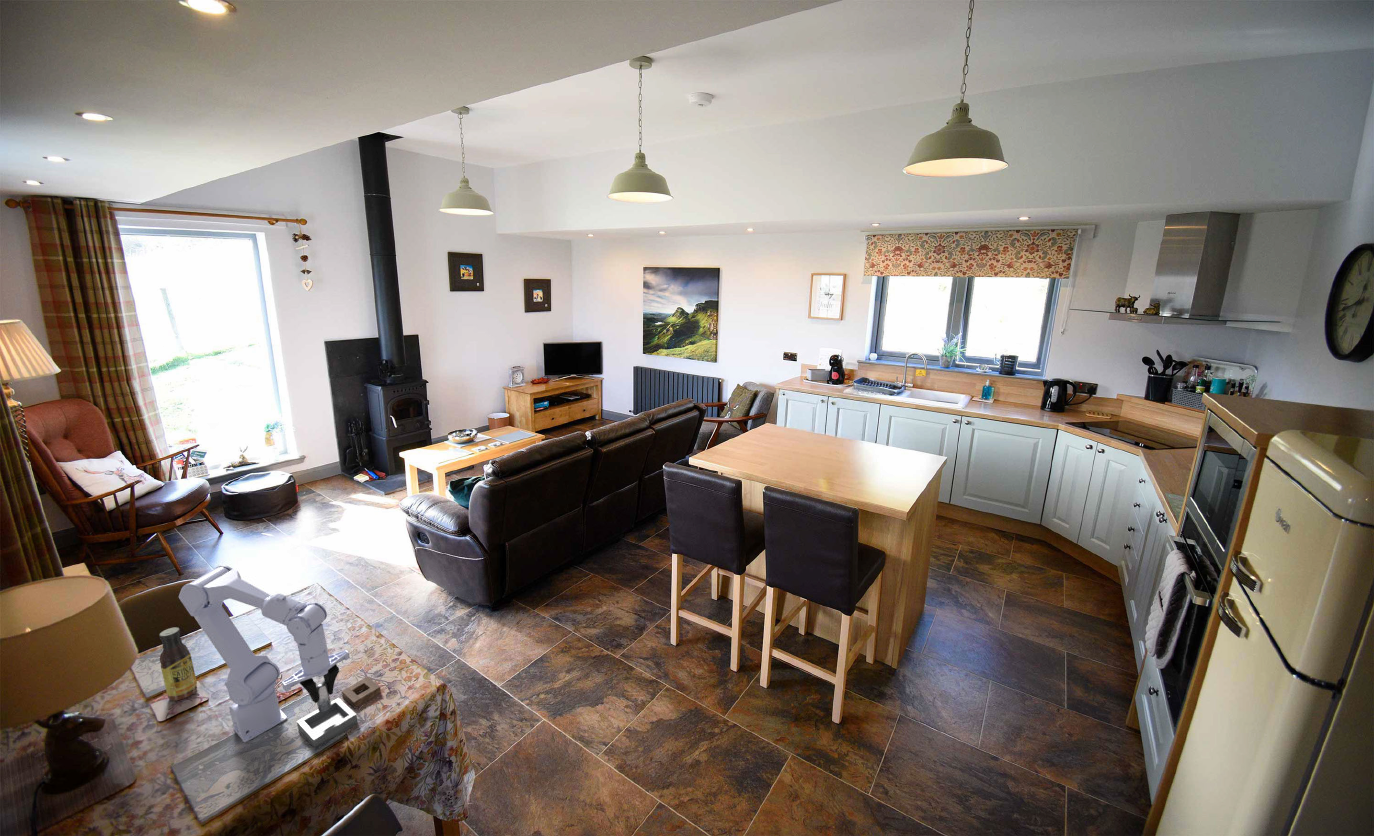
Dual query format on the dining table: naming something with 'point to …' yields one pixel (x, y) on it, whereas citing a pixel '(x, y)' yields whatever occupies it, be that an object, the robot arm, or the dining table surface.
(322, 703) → the pin
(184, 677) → the sauce bottle
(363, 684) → the frame
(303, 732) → the tray
